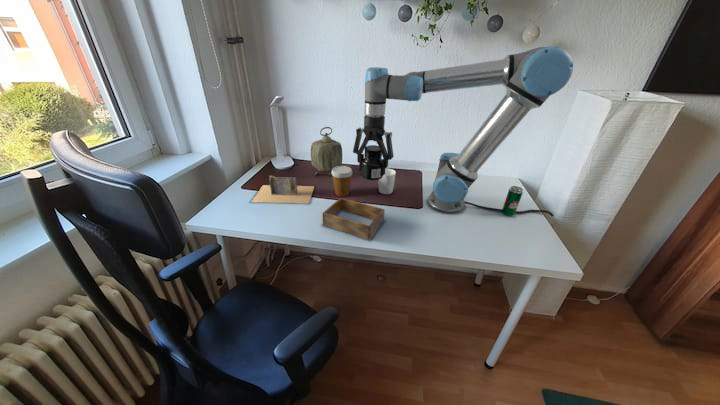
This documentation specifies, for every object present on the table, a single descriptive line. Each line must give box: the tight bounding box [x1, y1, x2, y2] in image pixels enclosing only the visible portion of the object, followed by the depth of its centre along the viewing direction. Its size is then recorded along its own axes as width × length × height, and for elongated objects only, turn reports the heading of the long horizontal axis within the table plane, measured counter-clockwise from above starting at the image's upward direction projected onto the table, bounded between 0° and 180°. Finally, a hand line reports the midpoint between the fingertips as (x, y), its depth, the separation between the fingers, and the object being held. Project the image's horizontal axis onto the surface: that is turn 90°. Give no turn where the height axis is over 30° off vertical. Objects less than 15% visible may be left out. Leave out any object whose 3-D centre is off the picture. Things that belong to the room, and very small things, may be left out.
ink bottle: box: [360, 144, 383, 181], centre depth 108 cm, size 10×9×12 cm
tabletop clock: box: [310, 126, 343, 177], centre depth 138 cm, size 14×9×25 cm, turn 130°
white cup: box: [377, 167, 397, 195], centre depth 127 cm, size 8×8×10 cm
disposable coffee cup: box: [330, 165, 354, 198], centre depth 123 cm, size 10×10×12 cm
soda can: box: [501, 185, 524, 217], centre depth 111 cm, size 5×5×12 cm
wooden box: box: [322, 197, 385, 241], centre depth 104 cm, size 20×14×6 cm
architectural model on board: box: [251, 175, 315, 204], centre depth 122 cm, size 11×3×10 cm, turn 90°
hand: (372, 172), depth 110 cm, fingers closed on ink bottle, 9 cm apart
